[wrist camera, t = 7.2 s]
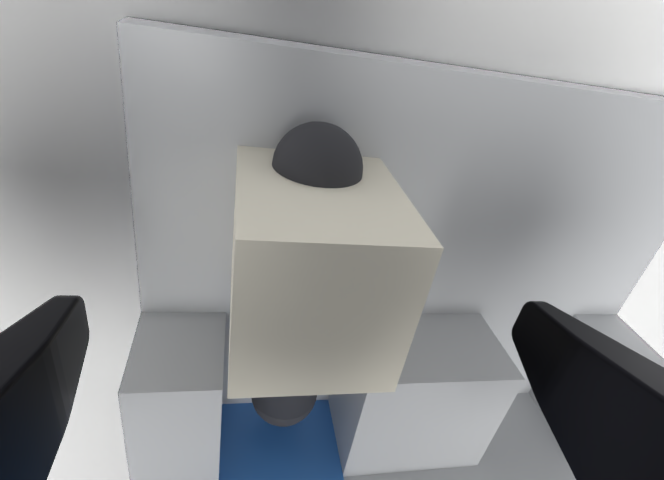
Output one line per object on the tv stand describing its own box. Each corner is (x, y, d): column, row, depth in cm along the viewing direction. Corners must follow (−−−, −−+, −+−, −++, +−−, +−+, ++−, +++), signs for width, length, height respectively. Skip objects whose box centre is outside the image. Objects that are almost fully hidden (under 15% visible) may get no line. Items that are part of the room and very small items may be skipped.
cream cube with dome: (329, 384, 16) (354, 508, 13) (225, 388, 16) (221, 522, 12) (389, 118, 11) (462, 195, 8) (239, 101, 10) (238, 179, 7)
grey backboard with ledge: (541, 395, 21) (644, 543, 16) (155, 412, 17) (116, 620, 12) (716, 104, 14) (1013, 193, 9) (126, 16, 10) (-8, 81, 5)
